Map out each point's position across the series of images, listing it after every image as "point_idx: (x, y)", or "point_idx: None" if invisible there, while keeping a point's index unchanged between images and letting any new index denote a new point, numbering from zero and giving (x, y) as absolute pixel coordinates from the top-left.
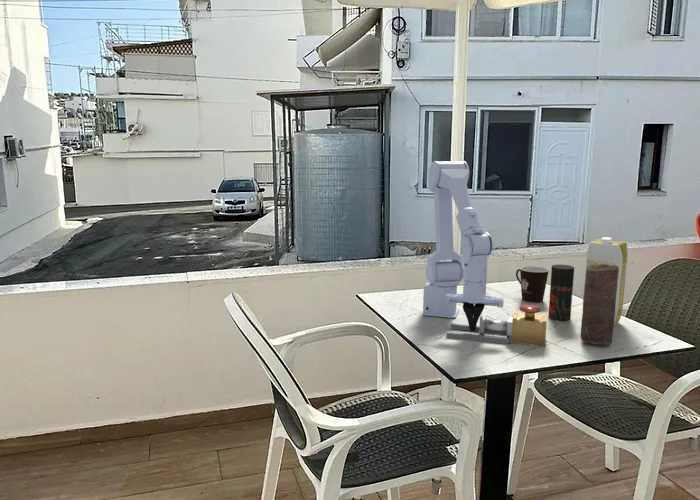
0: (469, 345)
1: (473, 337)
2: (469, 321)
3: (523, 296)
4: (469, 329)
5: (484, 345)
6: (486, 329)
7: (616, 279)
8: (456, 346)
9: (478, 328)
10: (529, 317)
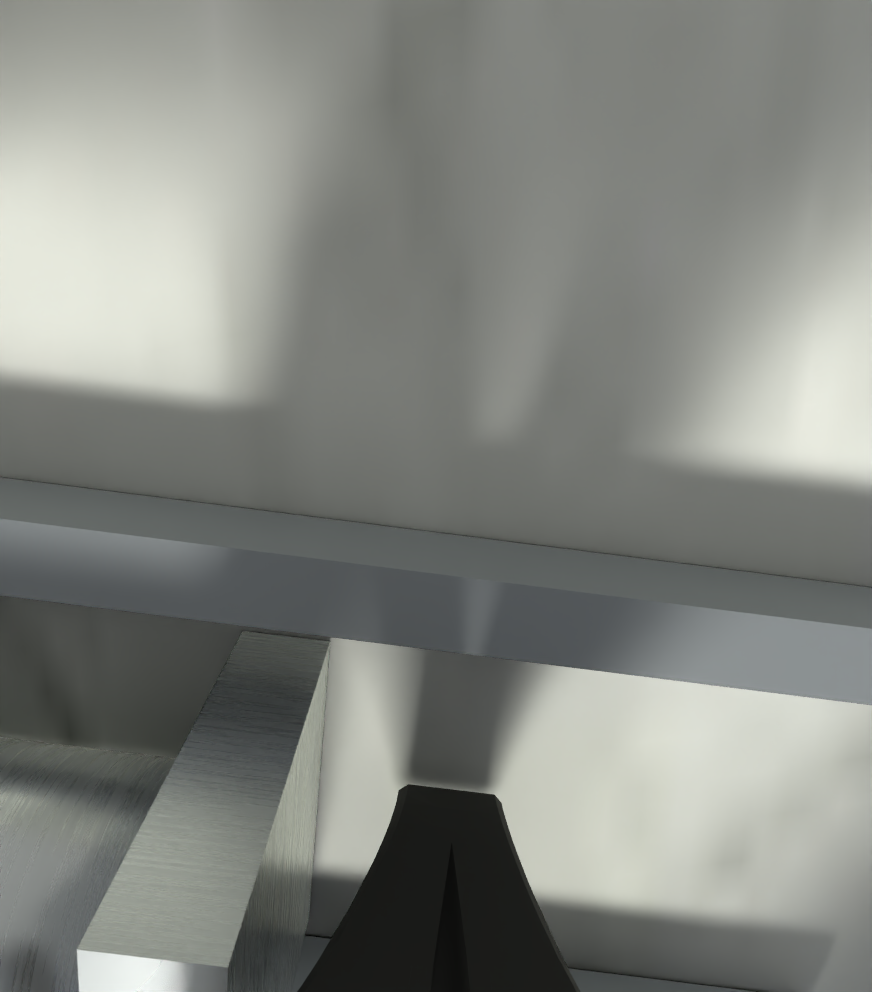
0: (520, 197)
1: (430, 552)
2: (532, 967)
3: None
4: None
5: (204, 265)
6: (141, 784)
7: None
8: (826, 60)
9: None
10: None
